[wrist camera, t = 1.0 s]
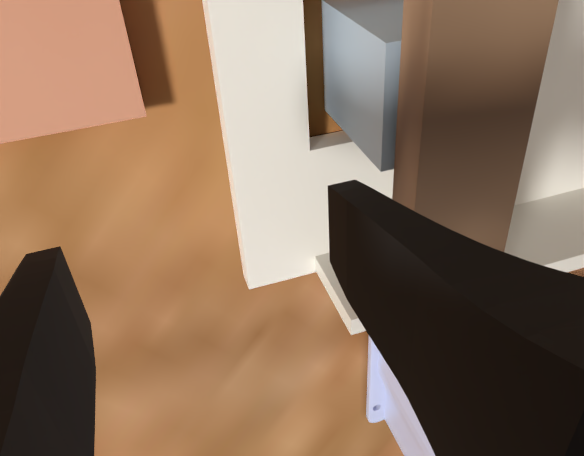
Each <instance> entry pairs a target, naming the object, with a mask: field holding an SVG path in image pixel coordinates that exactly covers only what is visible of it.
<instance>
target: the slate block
mask: <svg viewBox="0 0 584 456" xmlns="http://www.w3.org/2000/svg"><path fill="white" fill-rule="evenodd" d="M403 3H404V0H322V35H323V71H324V107H325V111H326V112H327V113H328V114H329V115H330V116H331V117H332V119H333V120H334V121H335V122H336V123H337V124H338V125H339V126H340V127H341V129H342V130H343V131H344V132H345V133H346V134H347V135H348V136H349V137H350V138H351V140H352V141H353V142H354V143H355V144H356V145H357V146H358V147H359V148H360V149H361V151H362V152H363V153H364V154H365V155H366V156H367V157H368V158H369V159H370V161H371V162H372V163H373V164H374V165H375V166H376V167H377V168H378V169H379V170H380V172H383V171H387V170H392V169H394V160H395V143H396V125H397V108H398V90H399V73H400V55H401V38H402V20H403Z"/></svg>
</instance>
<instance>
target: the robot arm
mask: <svg viewBox="0 0 584 456" xmlns="http://www.w3.org/2000/svg"><path fill="white" fill-rule="evenodd" d="M328 218H329V256H330V263H331V266H332V268H333V270H334V272H335V275H336V277H337V279H338V282H339V284H340V286H341V288H342V290H343V292H344V294H345V297H346V299H347V301H348V302H349V304H350V306H351V307H352V309H353V310H354V312H355V314H356V315H357V317H358V318H359V320H360V322H361V323H362V325H363V327H364V328H365V330H366V331H367V333H368V334H369V344H368V374H367V405H366V417H367V419H368V421H369V422H371V423H375V422H379V421H382V420H386V422H387V424H388V426H389V428H390V430H391V432H392V434H393V436H394V437H395V439H396V441H397V443H398V445H399V447H400V449H401V451H402V453H403V454H404V456H584V277H581V276H577V275H574V274H570V273H567V272H563V271H560V270H556V269H553V268H549V267H546V266H543V265H540V264H536V263H533V262H530V261H527V260H524V259H522V258H519V257H516V256H513V255H511V254H508V253H505V252H502V251H500V250H497V249H494V248H492V247H489V246H487V245H484V244H482V243H480V242H477V241H475V240H473V239H471V238H468V237H466V236H464V235H462V234H459V233H457V232H455V231H453V230H451V229H449V228H446V227H444V226H442V225H440V224H438V223H436V222H434V221H432V220H430V219H428V218H426V217H424V216H423V215H421V214H419V213H417V212H415V211H413V210H411V209H409V208H407V207H406V206H404V205H402V204H400V203H398V202H396V201H395V200H393V199H391V198H389V197H387V196H385V195H384V194H382V193H380V192H378V191H376V190H375V189H373V188H371V187H369V186H367V185H365V184H363V183H361V182H359V181H357V180H350V181H346V182H342V183H337V184H333V185H328ZM95 389H96V366H95V356H94V347H93V339H92V330H91V323H90V320H89V318H88V315H87V313H86V310H85V308H84V305H83V303H82V300H81V298H80V295H79V293H78V290H77V287H76V285H75V282H74V280H73V277H72V275H71V272H70V270H69V267H68V265H67V262H66V260H65V257H64V255H63V252H62V250H61V247H56V248H51V249H47V250H42V251H38V252H34V253H29V254H26V255H25V257H24V258H23V260H22V261H21V263H20V264H19V266H18V268H17V269H16V271H15V273H14V274H13V276H12V278H11V279H10V281H9V283H8V284H7V286H6V288H5V289H4V291H3V292H2V294H1V296H0V456H94V435H95Z"/></svg>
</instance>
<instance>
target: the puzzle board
mask: <svg viewBox="0 0 584 456" xmlns="http://www.w3.org/2000/svg"><path fill="white" fill-rule="evenodd" d="M202 2H203V8H204V15H205V22H206V28H207V35H208V42H209V48H210V55H211V62H212V68H213V75H214V82H215V88H216V95H217V102H218V108H219V115H220V122H221V128H222V135H223V142H224V148H225V155H226V161H227V168H228V175H229V181H230V188H231V195H232V201H233V208H234V215H235V221H236V228H237V235H238V241H239V248H240V255H241V261H242V268H243V275H244V277H245V280H246V283H247V285H248V288H249V289H253V288H257V287H260V286H264V285H268V284H272V283H276V282H280V281H283V280H287V279H291V278H295V277H299V276H303V275H306V274H310V273H314V272H317V274H318V276H319V278H320V279H321V281H322V283H323V285H324V287H325V289H326V290H327V292H328V294H329V296H330V298H331V299H332V301H333V303H334V305H335V307H336V309H337V310H338V312H339V314H340V316H341V318H342V319H343V321H344V323H345V325H346V327H347V329H348V330H349V332H350V334H351V335H353V334H357V333H360V332H363V331H366V330H365V328H364V327H363V325H362V323H361V322H360V320H359V318H358V317H357V315H356V314H355V312H354V310H353V309H352V307H351V306H350V304H349V302H348V301H347V299H346V297H345V294H344V292H343V290H342V288H341V286H340V284H339V282H338V279H337V277H336V275H335V272H334V270H333V268H332V266H331V263H330V256H329V218H328V185H333V184H337V183H342V182H346V181H350V180H357V181H359V182H361V183H363V184H365V185H367V186H369V187H371V188H373V189H375V190H376V191H378V192H380V193H382V194H384V195H385V196H387V197H389V198H391V199H392V195H393V178H394V169H392V170H387V171H383V172H380V170H379V169H378V168H377V167H376V166H375V165H374V164H373V163H372V162H371V161H370V159H369V158H368V157H367V156H366V155H365V154H364V153H363V152H362V151H361V149H360V148H359V147H358V146H357V145H356V144H355V143H354V142H353V141H352V140H351V138H350V137H349V136H348V135H347V134H346V133H345V132H344V131H338V132H333V133H329V134H324V135H319V136H314V137H309V120H308V99H307V77H306V56H305V34H304V13H303V0H202ZM504 252H505V253H508V254H511V255H513V256H516V257H519V258H522V259H524V260H527V261H530V262H533V263H536V264H540V265H543V266H546V267H549V268H553V269H556V270H560V271H563V272H570V271H573V270H577V269H580V268H584V0H559V2H558V6H557V11H556V15H555V20H554V25H553V29H552V34H551V39H550V43H549V48H548V52H547V57H546V62H545V66H544V71H543V75H542V80H541V85H540V89H539V94H538V98H537V103H536V108H535V112H534V117H533V121H532V126H531V131H530V135H529V140H528V145H527V149H526V154H525V158H524V163H523V168H522V172H521V177H520V181H519V186H518V191H517V195H516V200H515V204H514V209H513V214H512V218H511V223H510V227H509V232H508V237H507V241H506V246H505V251H504Z"/></svg>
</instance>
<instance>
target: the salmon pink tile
mask: <svg viewBox="0 0 584 456" xmlns="http://www.w3.org/2000/svg"><path fill="white" fill-rule="evenodd" d="M141 117H146V112H145V108H144V103H143V99H142V95H141V91H140V86H139V82H138V78H137V74H136V69H135V65H134V61H133V57H132V52H131V48H130V44H129V40H128V35H127V31H126V27H125V23H124V19H123V14H122V10H121V6H120V2H119V0H0V144H1V143H6V142H12V141H17V140H23V139H28V138H33V137H39V136H44V135H49V134H55V133H60V132H66V131H71V130H76V129H82V128H87V127H93V126H98V125H103V124H109V123H114V122H119V121H125V120H130V119H136V118H141Z"/></svg>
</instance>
